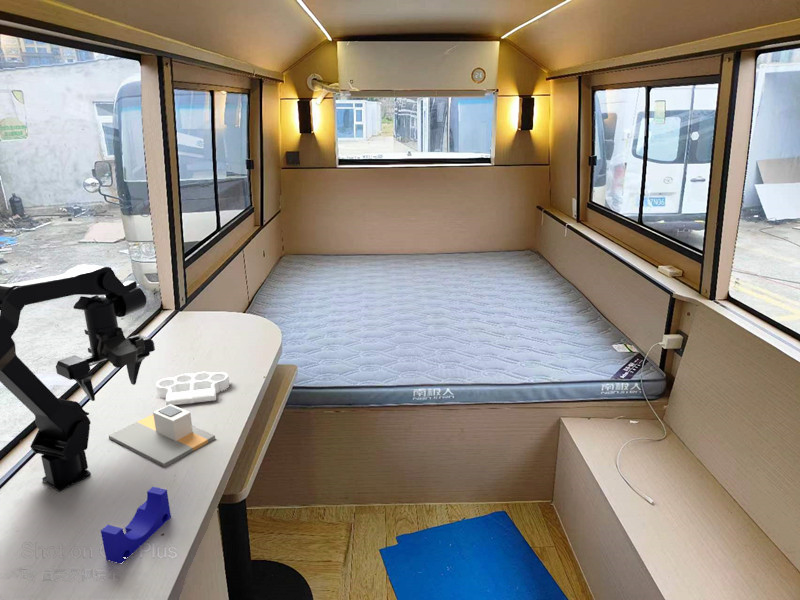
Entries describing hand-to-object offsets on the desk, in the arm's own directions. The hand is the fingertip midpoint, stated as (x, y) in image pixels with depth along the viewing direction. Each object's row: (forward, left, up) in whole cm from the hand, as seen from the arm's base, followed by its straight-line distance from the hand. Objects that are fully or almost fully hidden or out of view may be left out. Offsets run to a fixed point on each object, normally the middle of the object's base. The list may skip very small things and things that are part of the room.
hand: (113, 392), depth 124 cm
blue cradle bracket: (-16, -31, -12) cm, 37 cm away
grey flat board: (+5, -7, -12) cm, 15 cm away
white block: (+8, -8, -11) cm, 16 cm away
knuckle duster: (+24, +6, -13) cm, 28 cm away
